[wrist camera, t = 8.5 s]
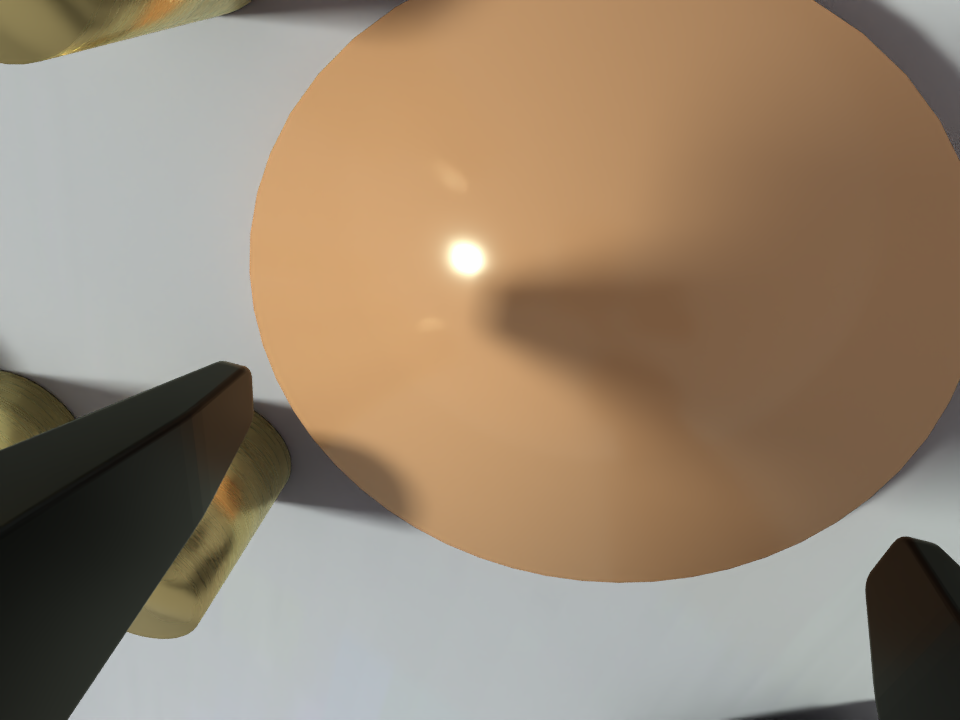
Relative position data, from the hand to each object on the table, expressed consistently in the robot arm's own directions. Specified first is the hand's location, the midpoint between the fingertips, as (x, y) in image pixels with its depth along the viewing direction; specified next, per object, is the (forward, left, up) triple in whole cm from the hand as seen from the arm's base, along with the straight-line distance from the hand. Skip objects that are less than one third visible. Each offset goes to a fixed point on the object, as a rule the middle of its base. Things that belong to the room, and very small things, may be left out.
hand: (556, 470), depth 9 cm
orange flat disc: (0, 0, -4) cm, 4 cm away
